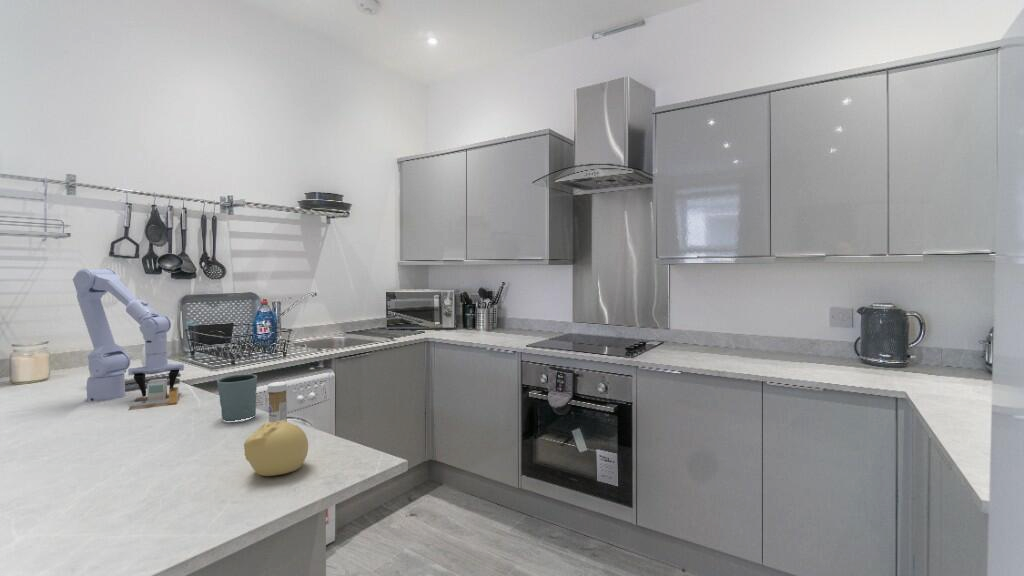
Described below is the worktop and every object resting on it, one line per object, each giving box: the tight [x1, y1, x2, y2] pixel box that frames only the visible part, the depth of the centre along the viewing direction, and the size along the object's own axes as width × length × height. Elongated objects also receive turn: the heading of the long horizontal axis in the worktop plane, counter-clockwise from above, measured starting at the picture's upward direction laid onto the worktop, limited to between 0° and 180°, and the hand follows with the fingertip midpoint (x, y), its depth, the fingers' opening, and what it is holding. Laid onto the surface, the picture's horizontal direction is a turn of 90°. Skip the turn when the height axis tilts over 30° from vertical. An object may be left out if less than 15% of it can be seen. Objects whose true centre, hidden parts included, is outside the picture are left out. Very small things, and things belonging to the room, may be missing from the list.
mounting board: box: [128, 392, 182, 411], centre depth 152 cm, size 12×16×2 cm
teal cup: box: [216, 373, 258, 421], centre depth 139 cm, size 10×10×12 cm
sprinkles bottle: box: [267, 381, 288, 423], centre depth 126 cm, size 5×5×14 cm
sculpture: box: [243, 420, 309, 477], centre depth 103 cm, size 11×12×11 cm
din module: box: [146, 378, 169, 400], centre depth 155 cm, size 4×7×6 cm, turn 31°
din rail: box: [128, 386, 180, 409], centre depth 149 cm, size 12×6×4 cm, turn 121°
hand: (157, 394), depth 156 cm, fingers open, 6 cm apart
